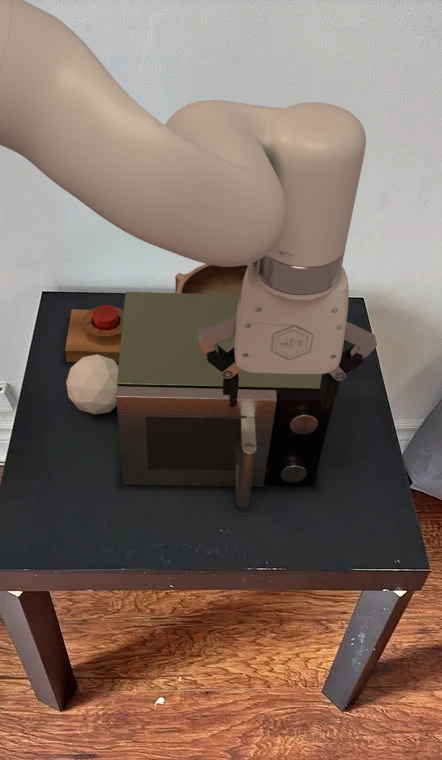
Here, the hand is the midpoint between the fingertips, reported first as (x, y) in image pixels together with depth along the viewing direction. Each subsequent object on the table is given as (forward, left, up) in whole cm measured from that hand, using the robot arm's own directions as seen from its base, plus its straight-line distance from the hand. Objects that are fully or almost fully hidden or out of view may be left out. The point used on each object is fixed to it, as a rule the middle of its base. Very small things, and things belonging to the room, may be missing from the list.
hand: (278, 398), depth 78 cm
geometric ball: (-10, +25, -19) cm, 33 cm away
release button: (-3, +36, -15) cm, 39 cm away
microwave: (+1, +12, -19) cm, 23 cm away
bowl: (+12, +29, -19) cm, 36 cm away
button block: (-3, +36, -19) cm, 41 cm away
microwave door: (-7, +5, -19) cm, 20 cm away
